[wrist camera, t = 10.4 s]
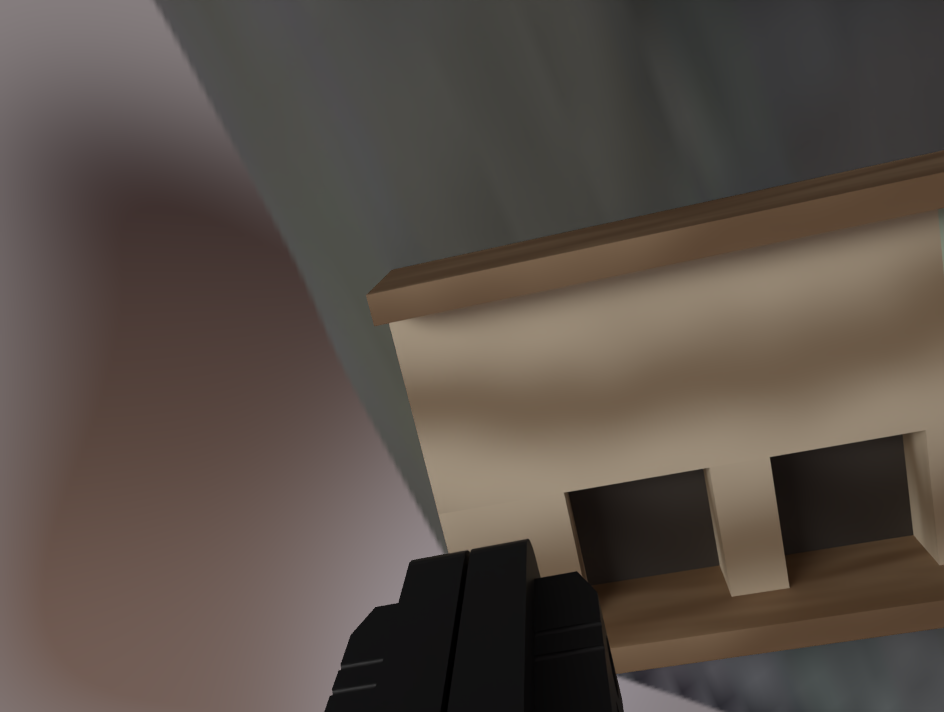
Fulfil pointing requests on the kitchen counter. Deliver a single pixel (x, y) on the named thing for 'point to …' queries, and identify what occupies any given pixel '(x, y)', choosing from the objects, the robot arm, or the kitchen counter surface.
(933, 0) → the kitchen counter surface
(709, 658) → the trap tray
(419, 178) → the kitchen counter surface
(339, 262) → the kitchen counter surface
